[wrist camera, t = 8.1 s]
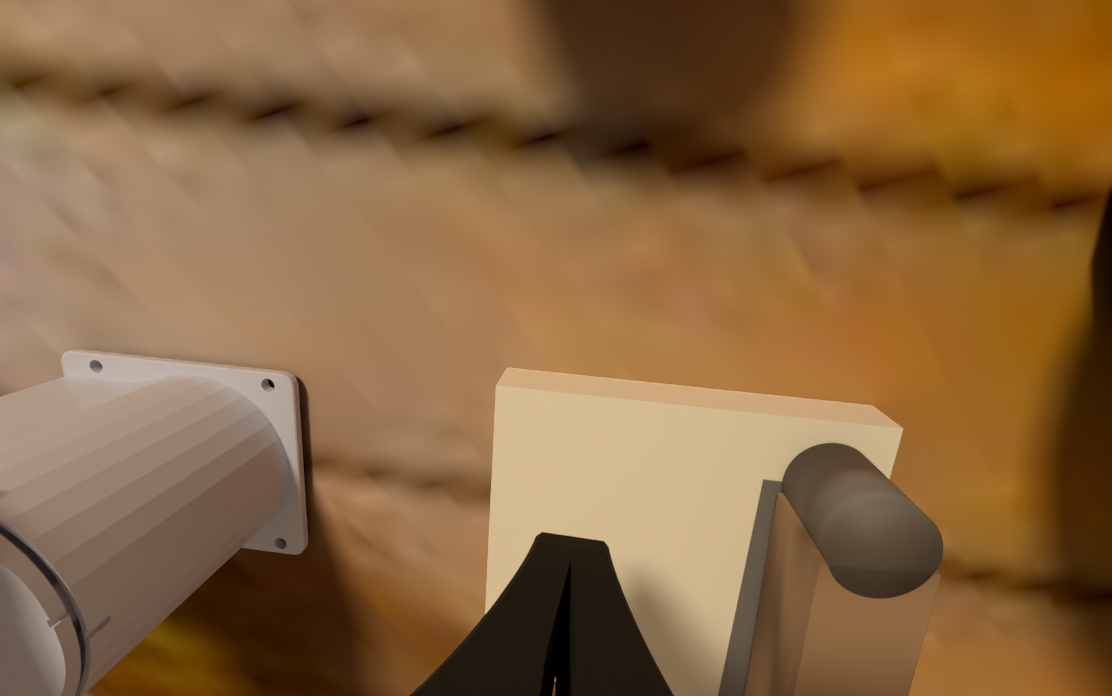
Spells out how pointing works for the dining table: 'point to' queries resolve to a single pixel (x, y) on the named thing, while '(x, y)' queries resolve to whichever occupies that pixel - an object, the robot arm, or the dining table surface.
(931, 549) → the stool leg
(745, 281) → the dining table surface
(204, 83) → the dining table surface
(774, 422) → the stool seat
